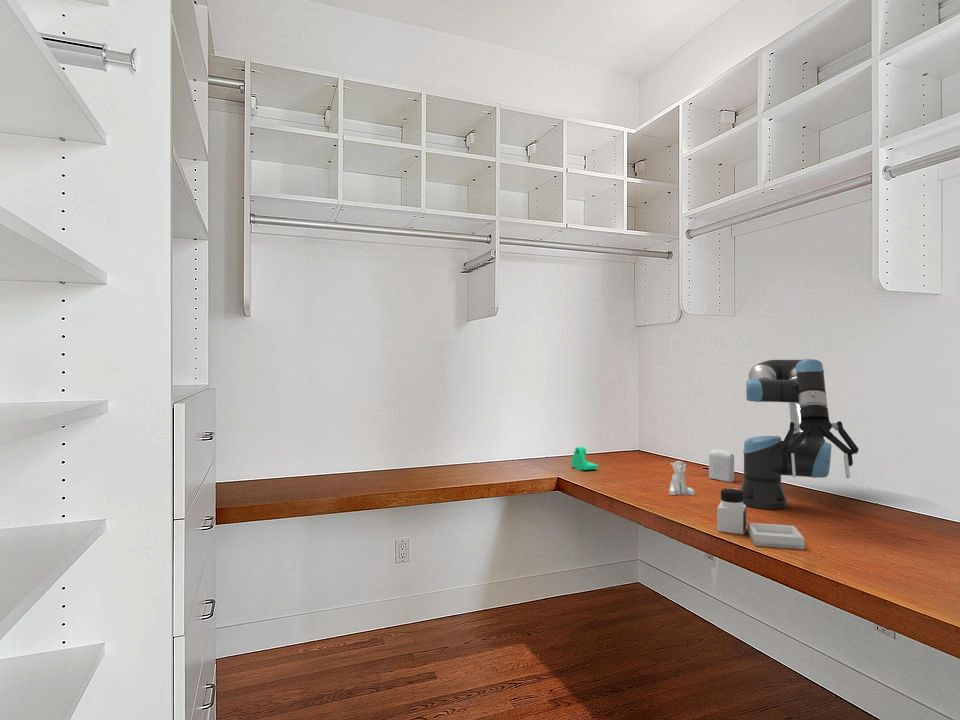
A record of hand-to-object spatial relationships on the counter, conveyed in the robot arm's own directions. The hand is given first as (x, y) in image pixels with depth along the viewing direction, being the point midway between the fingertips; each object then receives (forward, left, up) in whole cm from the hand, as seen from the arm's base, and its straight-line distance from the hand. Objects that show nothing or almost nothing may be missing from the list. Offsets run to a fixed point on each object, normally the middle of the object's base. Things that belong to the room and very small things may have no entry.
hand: (820, 476), depth 172 cm
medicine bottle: (+5, -25, -16) cm, 30 cm away
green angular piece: (-81, -77, -16) cm, 113 cm away
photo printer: (-71, -20, -16) cm, 75 cm away
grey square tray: (+13, -15, -16) cm, 25 cm away
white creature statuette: (-41, -38, -16) cm, 58 cm away
